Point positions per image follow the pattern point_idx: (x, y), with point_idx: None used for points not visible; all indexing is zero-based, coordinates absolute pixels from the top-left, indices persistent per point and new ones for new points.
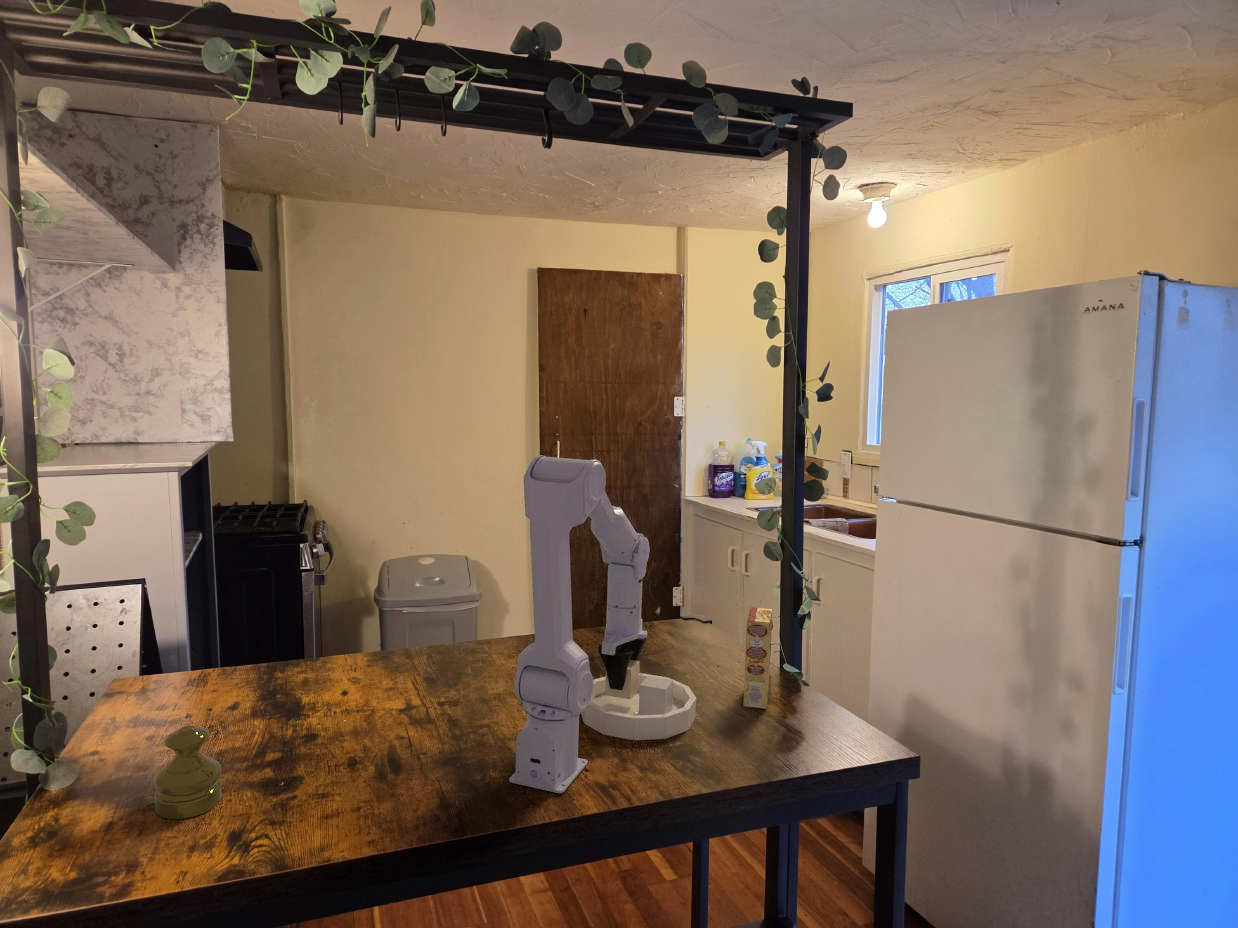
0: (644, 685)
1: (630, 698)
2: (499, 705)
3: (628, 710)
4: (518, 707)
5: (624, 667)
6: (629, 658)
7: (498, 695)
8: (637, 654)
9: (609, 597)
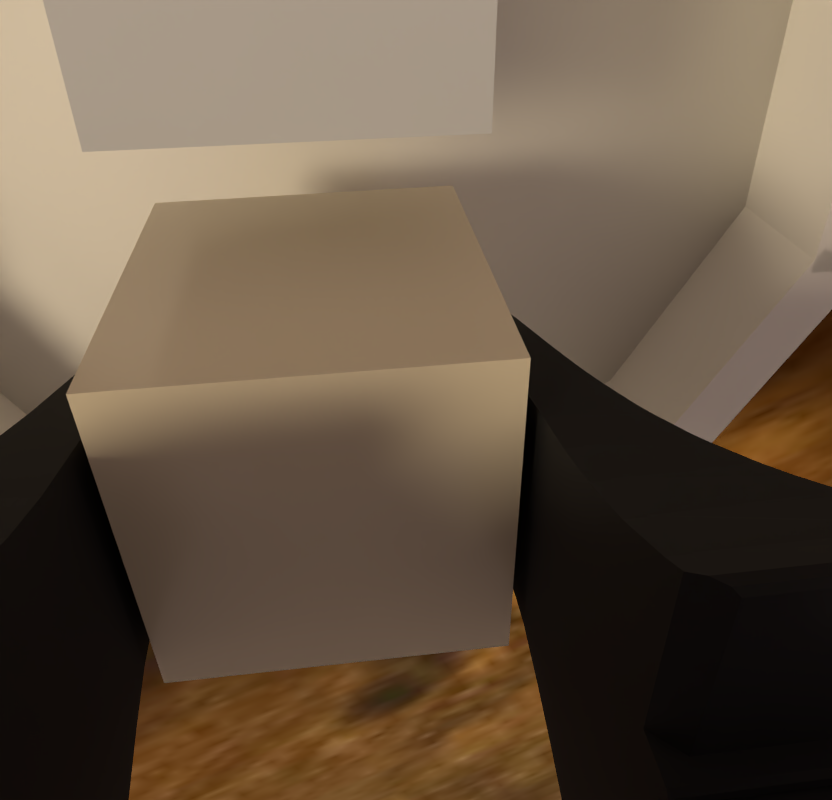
0: (477, 58)
1: (445, 188)
2: (545, 750)
3: (384, 173)
4: (535, 697)
5: (713, 446)
6: (721, 506)
7: (442, 796)
8: (36, 511)
9: None
